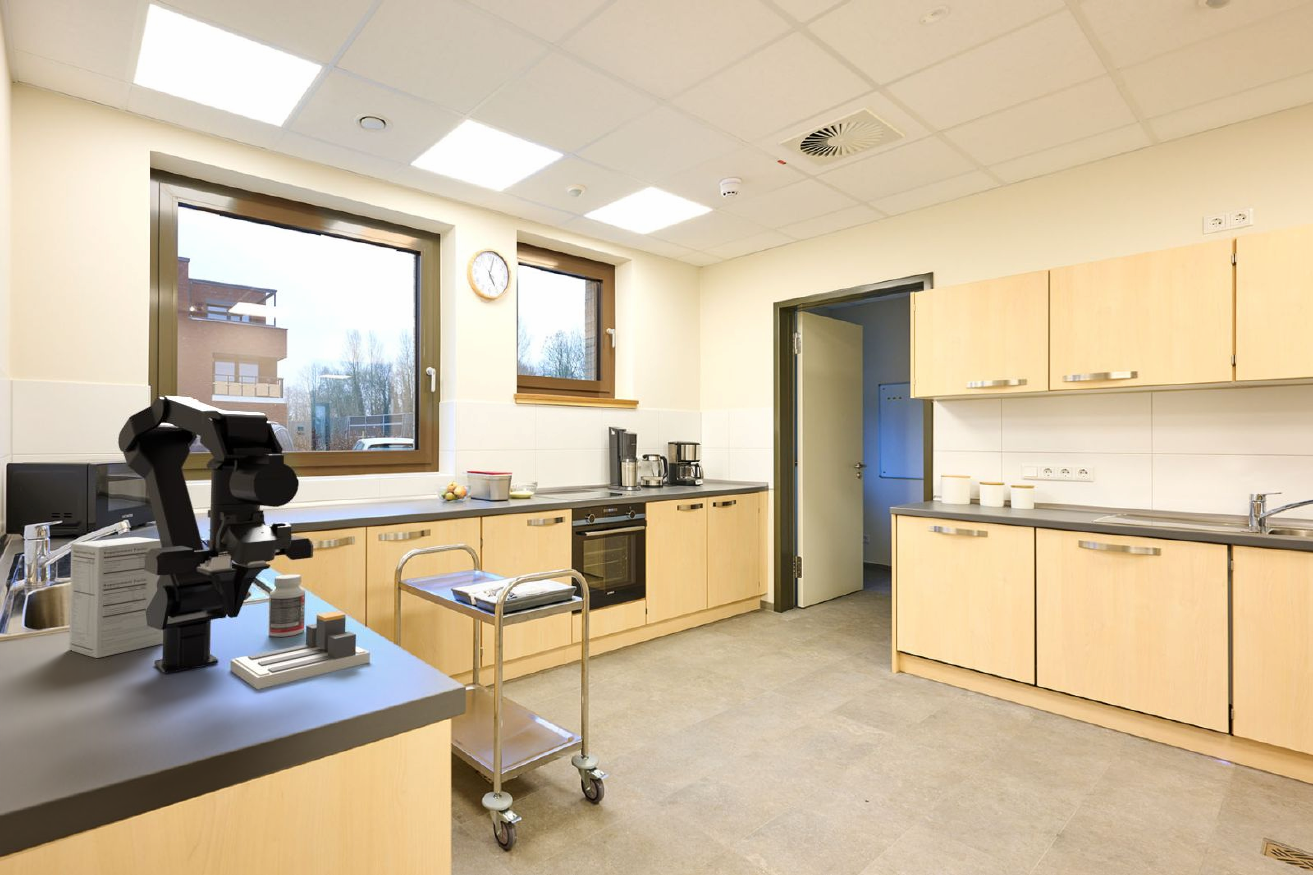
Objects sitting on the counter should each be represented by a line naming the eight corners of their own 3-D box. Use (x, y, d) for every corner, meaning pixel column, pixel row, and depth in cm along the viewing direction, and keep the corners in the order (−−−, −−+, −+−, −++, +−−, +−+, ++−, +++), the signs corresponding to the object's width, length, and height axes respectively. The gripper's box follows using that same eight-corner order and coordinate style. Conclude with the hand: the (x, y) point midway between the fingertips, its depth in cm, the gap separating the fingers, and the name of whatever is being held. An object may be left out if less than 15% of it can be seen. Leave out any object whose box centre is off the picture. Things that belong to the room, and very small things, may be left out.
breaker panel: (230, 670, 93) (231, 638, 93) (337, 647, 105) (338, 619, 105) (257, 689, 86) (258, 654, 86) (369, 662, 97) (370, 632, 97)
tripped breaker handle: (315, 645, 98) (316, 614, 98) (336, 641, 100) (337, 611, 101) (324, 650, 96) (325, 618, 96) (345, 645, 98) (345, 614, 99)
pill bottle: (309, 633, 112) (310, 576, 113) (274, 639, 108) (276, 580, 109) (297, 627, 116) (298, 572, 116) (263, 633, 112) (265, 576, 112)
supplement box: (166, 643, 105) (168, 539, 106) (96, 659, 97) (99, 546, 98) (135, 635, 110) (138, 535, 110) (66, 650, 102) (69, 541, 102)
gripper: (174, 511, 77) (170, 644, 77) (332, 502, 92) (330, 614, 91) (145, 505, 84) (141, 627, 83) (297, 498, 99) (294, 601, 98)
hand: (232, 617), depth 89 cm, fingers closed
